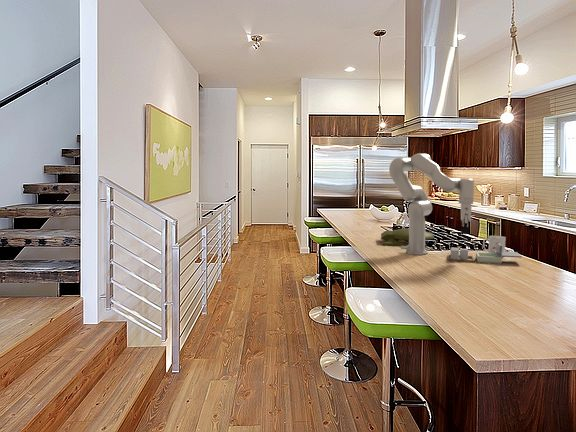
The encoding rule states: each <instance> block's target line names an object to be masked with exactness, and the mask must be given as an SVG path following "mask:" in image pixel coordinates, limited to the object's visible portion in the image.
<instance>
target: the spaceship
mask: <svg viewBox="0 0 576 432" xmlns="http://www.w3.org/2000/svg"><path fill="white" fill-rule="evenodd" d="M434 237H435V236H434V234H432V232H430V231H427V230H425V241H427V240H432V239H434ZM380 239H381V240H384V241H382V242H381V245H382V246H385V247H386V246H387V247H390V246H391V247H401V246H408V245H409V228H408V227H407V228H399V229H395V230H385V231H383V232H382V233H381V234H380ZM401 241H402V242H401ZM403 241H408V242H403ZM425 247H427V244H426V243H425Z"/></svg>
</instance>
